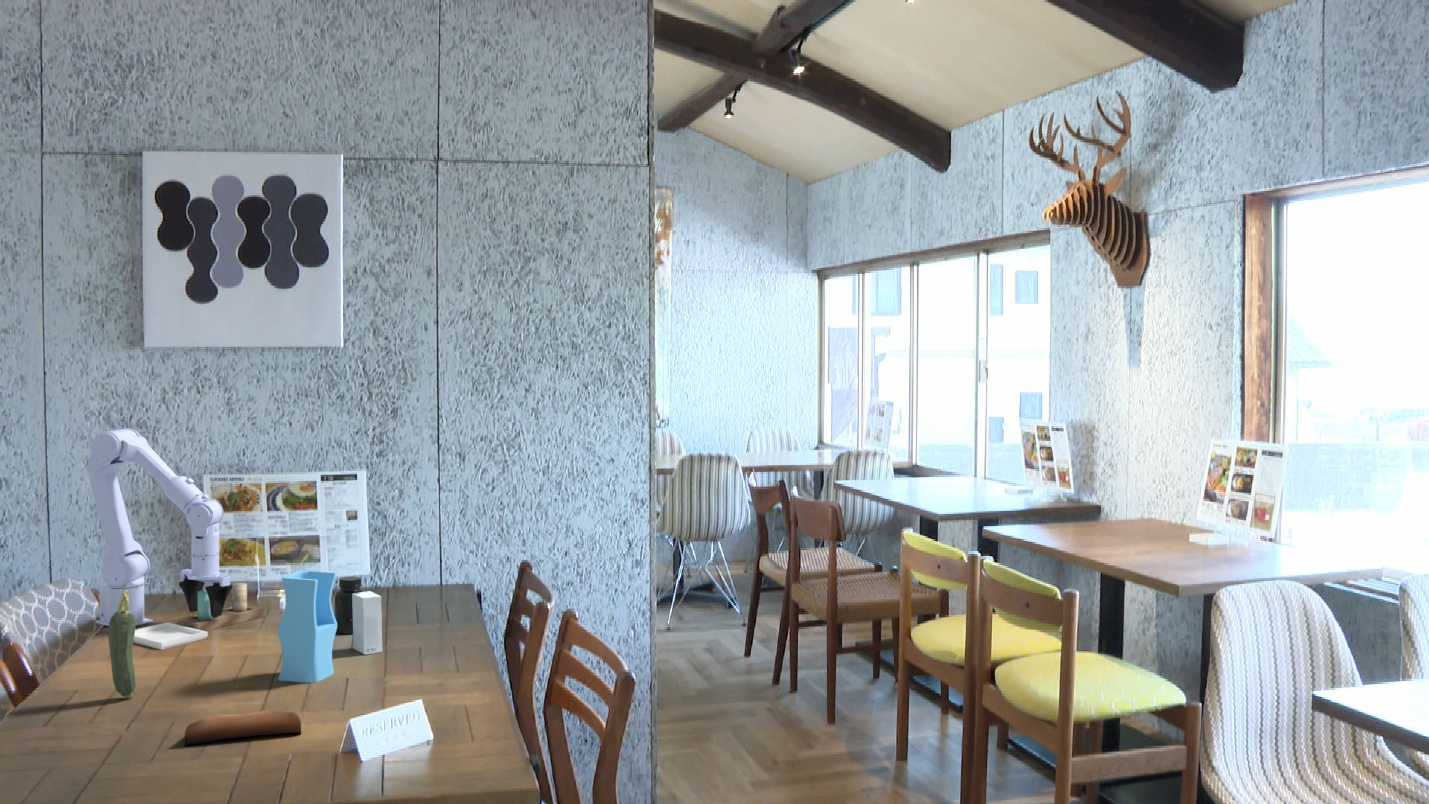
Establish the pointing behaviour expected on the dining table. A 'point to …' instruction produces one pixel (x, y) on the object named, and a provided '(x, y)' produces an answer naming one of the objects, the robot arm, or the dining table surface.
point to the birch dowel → (239, 597)
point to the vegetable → (122, 647)
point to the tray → (167, 635)
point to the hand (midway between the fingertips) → (205, 613)
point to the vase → (307, 627)
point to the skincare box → (367, 622)
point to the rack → (223, 618)
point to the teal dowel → (203, 606)
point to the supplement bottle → (345, 603)
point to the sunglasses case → (242, 726)
